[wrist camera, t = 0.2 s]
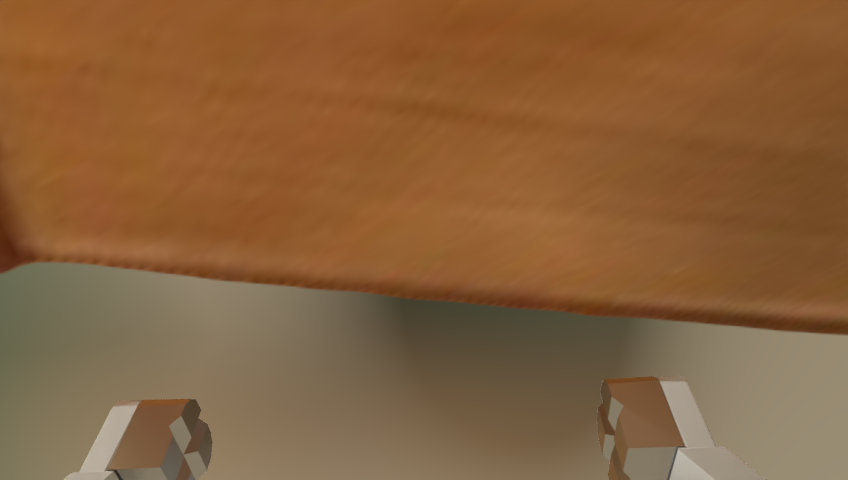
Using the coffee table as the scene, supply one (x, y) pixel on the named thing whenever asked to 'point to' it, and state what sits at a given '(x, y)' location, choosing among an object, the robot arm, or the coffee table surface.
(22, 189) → the coffee table surface
